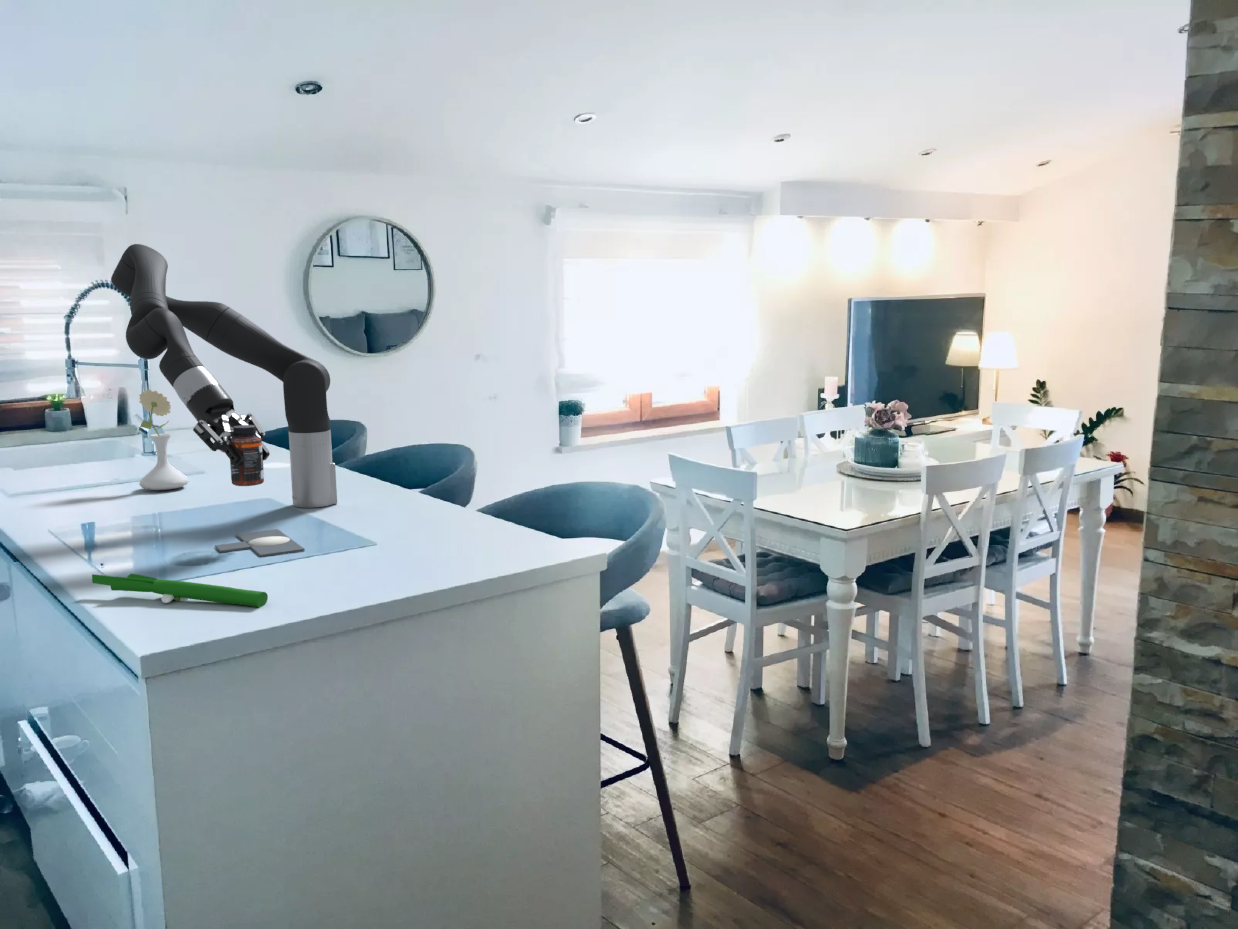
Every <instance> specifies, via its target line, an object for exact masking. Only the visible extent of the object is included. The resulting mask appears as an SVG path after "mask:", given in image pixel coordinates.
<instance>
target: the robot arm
mask: <svg viewBox="0 0 1238 929" xmlns="http://www.w3.org/2000/svg"><path fill="white" fill-rule="evenodd" d="M168 266H169V265H168V262H167V259H166V257H165V256H163V254H161V252H159V251H157V250H156V249H154V248H152V247H150V246H148V245H145V244H140V243H134V244H130V245H129V246H127V248H126V249H125V250H124V251H123V253H122V255H121V257H120V259H119V261H118V262H117V265H116V267H115V268H114V271H113V273H112V275H111V276H110V277H111V278H110V282H111V284H112V285H113V286H114V287H115V288H116V289H117V290H118V291H120V293H123V294H124V295H126V296H127V297H128V298H130V299H129V308H130V312H131V316H130V318H129V321H128V324H127V328H126V332H125V339H126V343H127V346H128V347H129V349H130V351H132V353H133V354H134V355H136V356H137V357H139V358H141V359H144V360H154V359H156V358H159V357H160V356H161V355H162V354H163V353H164V354H163V356H162V357H161V359H160V361H159V365H158V368H159V371H160V372H161V374H162V375H163V377H164V378H165V379H166V380H167V381H168V383H169V384H170V385H171V387H172V388H173V390H174V391H175V392H176V395H177V396H178V398H179V399H180V400H181V402H182V403H183V404H184V405H185V408H187V409H188V411H189V412H190V414H191V415H192V416H193V418H195V420H196V421H197V423H196V424H195V425H194V427H193V429H192V430H193V432H194V433H195V434H196V436H198V437H199V439H201V441H202V442H203V443H204V444H205V445H206V446H207V447H208V448H209V450H210V451H213V452H217V451H220V452H221V453H225V455H226V456H227V458H228V459H229V461H230V460H231V461H232V462H233V463H234V464H235V465H236V466H240V465H241V464H242V463H243V462H244V460H245V458H244V456H243V455H242V454H241V452H240V451H239V450H238V449H237V447H236V446H235V445H234V444H233V445H231V444H232V441H231V438H232V437H233V435H234V433H233V432H234V429H233V427H234V426H239V425H254V426H255V427H256V435H257V436H258V437H260V438H261V440H262V439H263V438H264V437H265V435H266V432H265V431H264V429H263V428H262V426H261V425H260V423H259V421H258V420H257V418H256V416H255V415H254V414H253V413H252V412H248V413H247V414H246V415H241V414H240V413H239V412H238V411H236V410H235V407H234V400H233V399H232V398H231V397H230V395H229V394H228V393H227V391H226V390H225V388H223V387H222V385H221V384H220V383H219V381H218V380H217V379H216V378H215V376H214V375H213V374H212V373H211V372H210V371H209V370H208V369H207V368H206V367H205V366H204V364H202V362H201V361H200V359H199V358H198V356H196V354H195V353H194V350H193V349H192V346H191V344H190V342H189V340H188V337H187V334H186V331H185V329H186V330H188V331H190V332H191V333H193V334H194V335H196V336H197V337H199V338H200V339H202V340H203V341H205V342H206V343H208V344H210V345H211V346H213V347H214V348H216V349H218V350H219V351H221V352H223V353H225V354H227V355H229V356H230V357H231V356H232V357H233V358H235V359H238V360H240V361H243V362H245V363H247V364H250V365H253V366H256V367H257V368H260V369H262V370H265V371H266V372H268V373H269V374H271V375H272V376H274V377H275V378H277V379H278V380H280V382H282V387H283V388H282V389H283V401H284V402H283V403H284V413H285V414H284V415H285V419H286V423H287V428H288V444H289V457H290V458H289V460H290V461H289V462H290V477H291V479H290V480H291V493H292V494H291V496H292V497H291V498H292V505H293V506H294V507H295V508H304V509H305V508H308V509H309V508H311V509H312V508H321V507H328V506H331V505H336V504H338V494H337V492H338V489H337V475H336V474H337V471H336V463H335V462H333V452H332V451H333V448H332V432H331V430H332V429H331V427H332V426H331V419H330V416H329V412H328V401H327V392H328V390H329V388H330V385H331V377H330V373H329V371H328V369H327V368H326V366H325V365H323V364H322V363H321V362H320V361H317V360H315V359H313V358H311V357H308V356H307V355H305V354H303V353H301V352H299V351H296V350H295V349H293V348H291V347H289V346H287V345H285V344H284V343H282V342H280V341H279V340H278V339H277V338H275V337H274V336H272V335H271V334H270V333H268V331H266V330H265V329H263V328H261V327H260V326H259V325H257V324H256V323H254V322H253V321H252V320H250V319H248V318H247V317H245V316H244V315H243V314H241V313H240V312H238V311H237V310H235V309H233V308H232V307H230V306H228V305H226V304H224V303H222V302H218V301H205V300H202V301H200V300H199V301H198V300H193V301H192V300H191V301H190V300H180V299H176V298H172V297H170V296H167V294H166V287H167V286H166V282H167V281H166V280H167V272H168V268H169V267H168ZM211 439H212V440H213V441H214V442H213V441H212V440H211ZM262 453H263V461H266V460H267V459H268V458H269V457H270V450H269V449H268V448H267V446H266V445H265V443H263V442H262Z"/></svg>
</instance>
